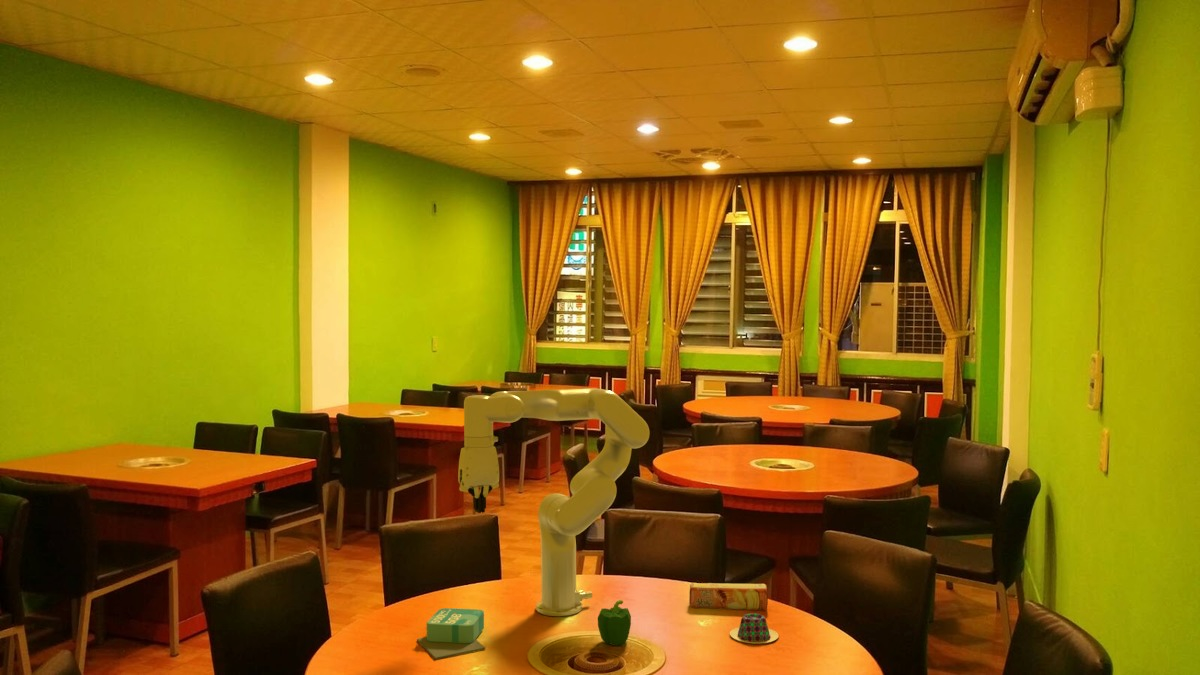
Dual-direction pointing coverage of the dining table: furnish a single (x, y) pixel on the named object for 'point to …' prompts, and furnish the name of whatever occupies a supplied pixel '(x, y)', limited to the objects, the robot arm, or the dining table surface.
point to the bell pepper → (614, 624)
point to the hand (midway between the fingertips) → (479, 511)
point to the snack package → (729, 596)
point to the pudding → (754, 630)
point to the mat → (449, 648)
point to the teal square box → (455, 625)
